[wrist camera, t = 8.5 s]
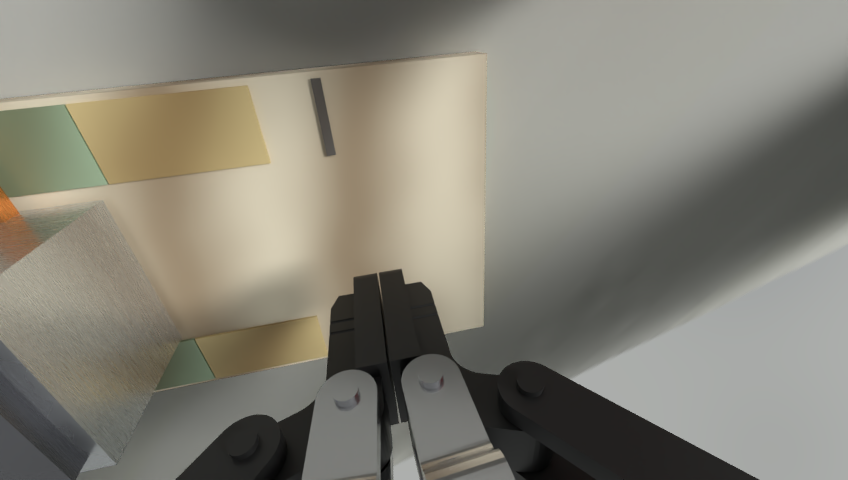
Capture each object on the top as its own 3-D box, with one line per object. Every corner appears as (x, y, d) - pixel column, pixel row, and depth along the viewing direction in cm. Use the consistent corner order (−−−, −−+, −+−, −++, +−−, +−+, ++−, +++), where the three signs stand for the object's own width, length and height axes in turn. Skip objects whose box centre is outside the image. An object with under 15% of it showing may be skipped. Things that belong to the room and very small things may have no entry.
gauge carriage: (54, 114, 10) (-198, 190, 5) (206, 380, 16) (149, 530, 11) (-159, 137, 10) (-656, 246, 5) (79, 405, 15) (-39, 576, 11)
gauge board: (475, 51, 13) (597, 73, 7) (476, 310, 19) (540, 444, 13) (-296, 128, 10) (-1290, 285, 4) (-2, 403, 16) (-210, 630, 10)
